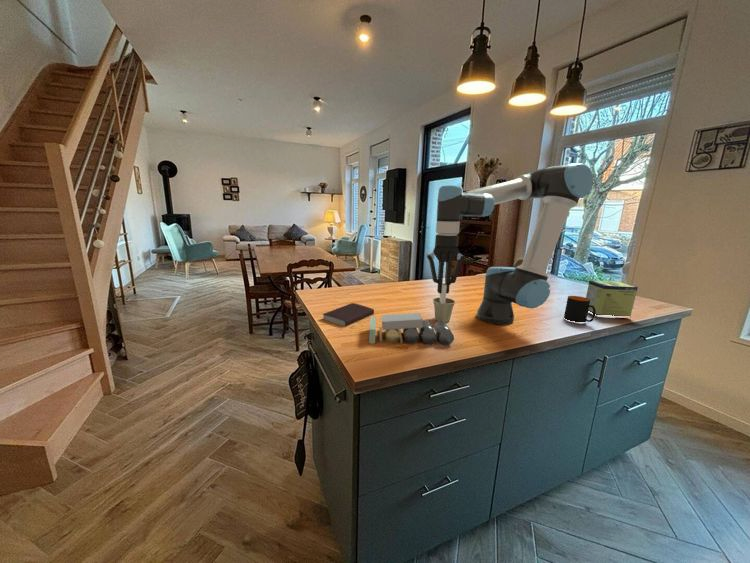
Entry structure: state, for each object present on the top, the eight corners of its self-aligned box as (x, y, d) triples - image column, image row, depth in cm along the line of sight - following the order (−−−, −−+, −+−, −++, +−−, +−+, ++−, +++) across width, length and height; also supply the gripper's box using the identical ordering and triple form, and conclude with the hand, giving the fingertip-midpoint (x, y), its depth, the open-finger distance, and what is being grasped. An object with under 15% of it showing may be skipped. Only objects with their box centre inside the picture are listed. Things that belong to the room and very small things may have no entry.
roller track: (446, 333, 114) (447, 320, 113) (453, 345, 103) (455, 332, 102) (379, 330, 114) (379, 318, 113) (379, 342, 103) (380, 329, 102)
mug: (585, 328, 126) (590, 304, 123) (559, 318, 137) (563, 296, 134) (598, 326, 129) (603, 302, 126) (572, 316, 140) (576, 295, 137)
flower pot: (426, 319, 128) (428, 299, 126) (438, 314, 135) (440, 296, 133) (446, 325, 122) (448, 305, 120) (457, 320, 129) (459, 300, 127)
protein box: (630, 319, 139) (638, 286, 136) (596, 317, 139) (604, 285, 136) (613, 312, 150) (620, 281, 146) (582, 310, 150) (588, 280, 146)
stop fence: (375, 329, 115) (375, 317, 113) (375, 343, 103) (375, 329, 102) (369, 329, 115) (370, 317, 113) (369, 343, 103) (369, 329, 102)
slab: (419, 320, 111) (419, 312, 110) (422, 327, 104) (422, 319, 104) (382, 322, 111) (381, 315, 111) (382, 330, 104) (381, 321, 104)
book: (374, 315, 132) (374, 308, 131) (345, 328, 116) (345, 320, 115) (351, 309, 139) (352, 302, 138) (321, 320, 123) (321, 313, 122)
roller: (392, 335, 114) (382, 328, 113) (400, 325, 113) (389, 318, 112) (394, 346, 104) (383, 339, 104) (402, 335, 103) (390, 328, 103)
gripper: (463, 233, 104) (458, 299, 110) (425, 233, 104) (422, 298, 110) (470, 235, 97) (463, 305, 102) (429, 235, 97) (425, 305, 102)
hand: (442, 302), depth 106 cm, fingers closed
